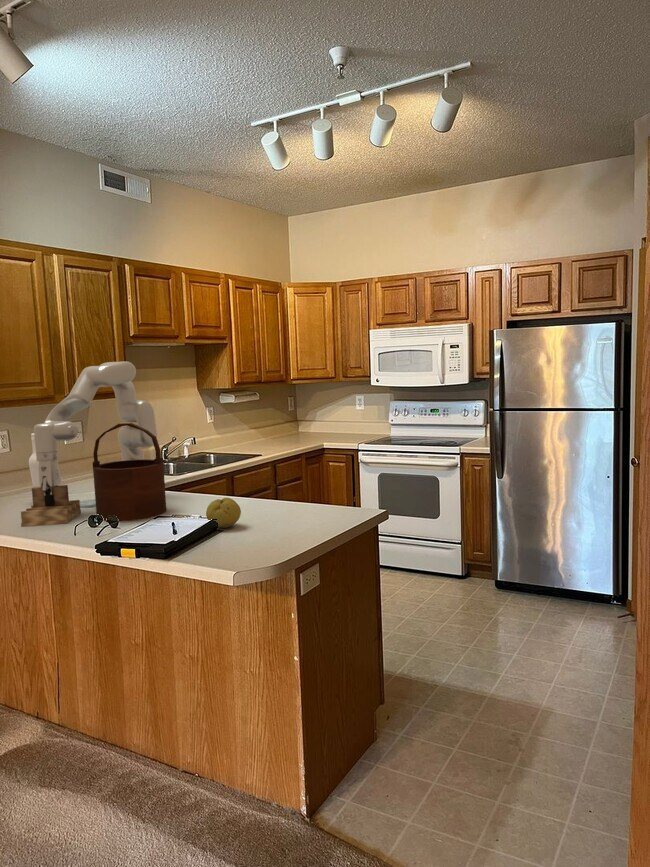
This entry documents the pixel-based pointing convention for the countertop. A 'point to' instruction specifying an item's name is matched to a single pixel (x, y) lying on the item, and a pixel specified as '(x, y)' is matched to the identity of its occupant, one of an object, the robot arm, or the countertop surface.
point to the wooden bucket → (130, 484)
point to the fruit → (224, 512)
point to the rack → (50, 514)
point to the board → (58, 492)
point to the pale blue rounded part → (88, 503)
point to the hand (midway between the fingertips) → (51, 504)
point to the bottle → (34, 465)
